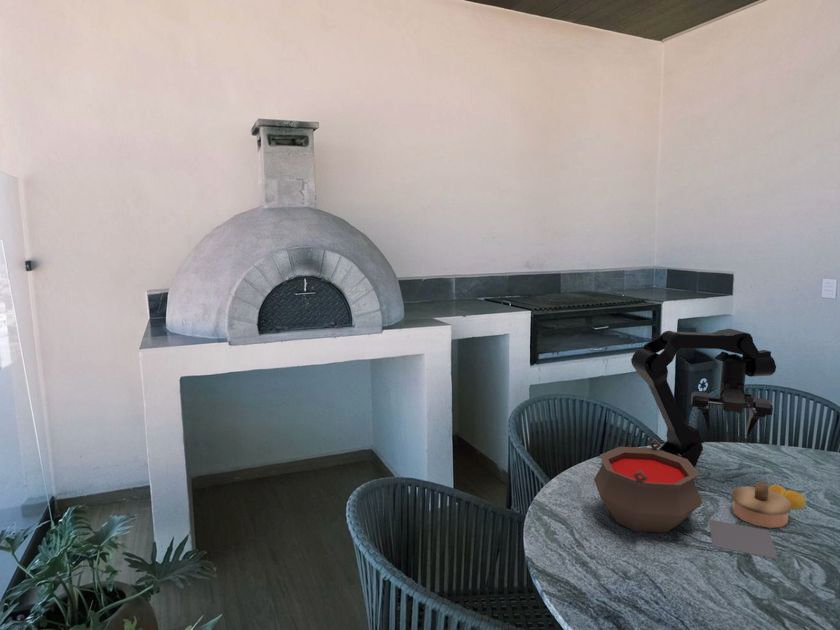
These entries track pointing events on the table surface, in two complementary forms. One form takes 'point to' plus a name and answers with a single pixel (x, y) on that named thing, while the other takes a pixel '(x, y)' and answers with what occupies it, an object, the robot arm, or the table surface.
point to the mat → (742, 539)
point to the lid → (761, 500)
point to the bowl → (760, 517)
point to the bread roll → (790, 496)
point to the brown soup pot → (647, 487)
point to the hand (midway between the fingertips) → (727, 433)
